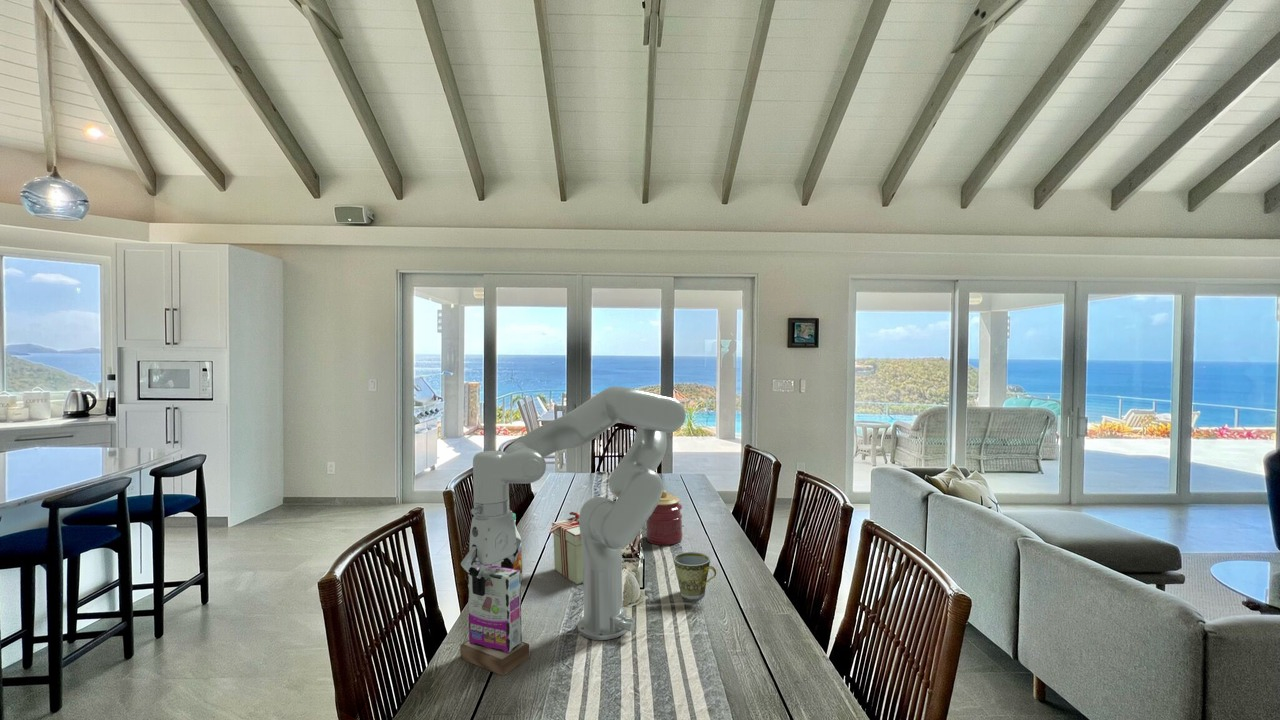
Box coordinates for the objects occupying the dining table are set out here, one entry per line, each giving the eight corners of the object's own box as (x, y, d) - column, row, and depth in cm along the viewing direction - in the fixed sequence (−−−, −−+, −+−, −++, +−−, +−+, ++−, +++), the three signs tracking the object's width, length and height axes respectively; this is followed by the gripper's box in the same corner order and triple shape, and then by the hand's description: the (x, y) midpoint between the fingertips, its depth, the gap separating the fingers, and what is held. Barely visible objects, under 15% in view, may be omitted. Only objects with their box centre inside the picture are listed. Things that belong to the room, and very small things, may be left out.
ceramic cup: (666, 595, 152) (666, 559, 152) (689, 583, 159) (688, 549, 159) (705, 609, 143) (704, 571, 143) (726, 596, 151) (726, 560, 150)
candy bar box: (523, 642, 122) (521, 569, 122) (509, 654, 118) (507, 578, 117) (483, 633, 127) (481, 562, 127) (468, 643, 122) (466, 570, 122)
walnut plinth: (529, 657, 122) (529, 643, 122) (502, 675, 115) (502, 660, 115) (488, 641, 129) (487, 628, 129) (460, 658, 122) (460, 644, 122)
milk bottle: (499, 589, 158) (497, 519, 157) (493, 579, 164) (491, 513, 164) (525, 583, 161) (524, 515, 161) (518, 574, 168) (517, 509, 168)
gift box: (542, 573, 169) (540, 517, 168) (591, 557, 181) (590, 505, 181) (573, 591, 156) (572, 530, 156) (624, 572, 168) (623, 516, 168)
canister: (659, 531, 206) (658, 484, 206) (689, 537, 198) (688, 488, 198) (638, 541, 195) (638, 491, 195) (669, 548, 188) (668, 496, 188)
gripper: (472, 521, 112) (474, 607, 113) (531, 500, 127) (533, 576, 127) (447, 515, 116) (449, 598, 117) (508, 496, 131) (509, 570, 131)
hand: (493, 586), depth 122 cm, fingers open, 7 cm apart
